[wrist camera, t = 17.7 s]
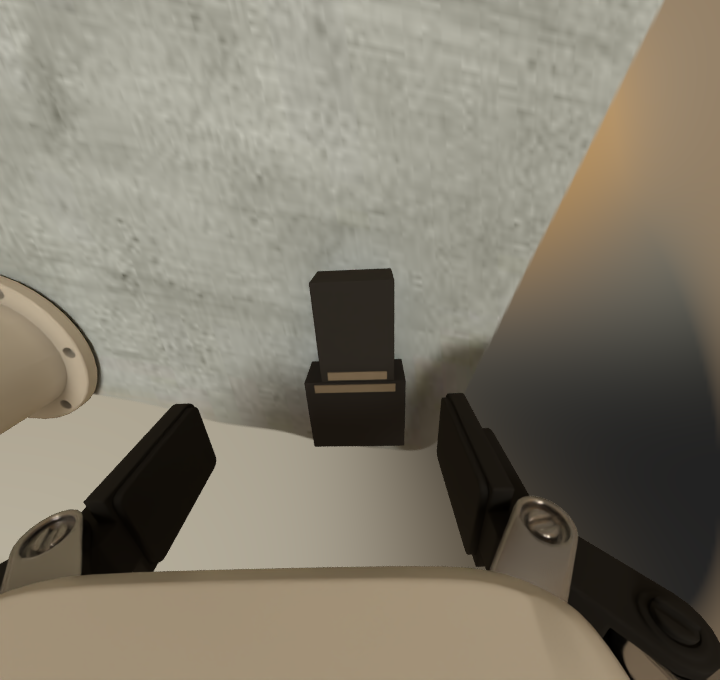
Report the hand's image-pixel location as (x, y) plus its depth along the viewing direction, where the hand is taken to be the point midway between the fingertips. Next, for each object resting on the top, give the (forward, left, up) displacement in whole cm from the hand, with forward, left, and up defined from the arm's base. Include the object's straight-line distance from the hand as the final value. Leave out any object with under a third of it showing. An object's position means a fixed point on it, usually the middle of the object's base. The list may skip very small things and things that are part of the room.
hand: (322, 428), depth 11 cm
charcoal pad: (+1, -6, -11) cm, 13 cm away
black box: (+1, 0, -11) cm, 11 cm away
